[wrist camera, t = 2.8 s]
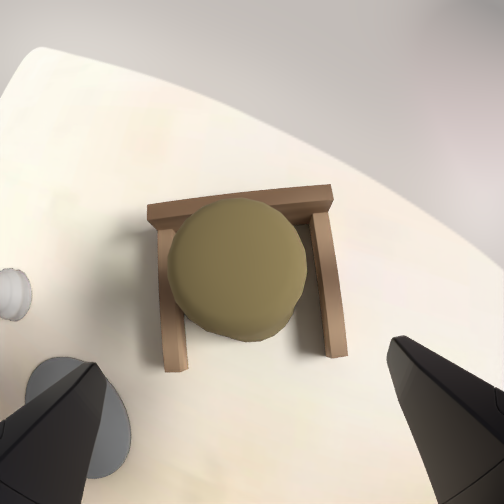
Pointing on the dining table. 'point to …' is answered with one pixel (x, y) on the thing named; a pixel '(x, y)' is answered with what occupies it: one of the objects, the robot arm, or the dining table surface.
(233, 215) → the cork
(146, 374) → the dining table surface
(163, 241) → the holder
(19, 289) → the rook chess piece
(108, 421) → the coaster
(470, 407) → the robot arm
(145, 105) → the dining table surface
